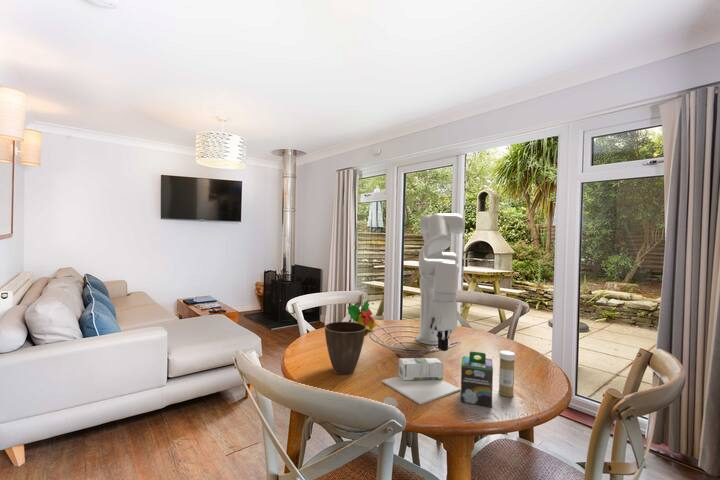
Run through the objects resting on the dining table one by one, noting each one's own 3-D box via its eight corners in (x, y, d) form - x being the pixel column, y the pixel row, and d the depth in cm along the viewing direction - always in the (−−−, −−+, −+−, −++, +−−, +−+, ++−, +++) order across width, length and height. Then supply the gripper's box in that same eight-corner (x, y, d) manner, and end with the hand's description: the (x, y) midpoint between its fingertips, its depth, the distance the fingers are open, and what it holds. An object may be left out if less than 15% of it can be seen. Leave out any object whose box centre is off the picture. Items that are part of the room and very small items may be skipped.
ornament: (360, 338, 165) (362, 307, 165) (346, 335, 170) (347, 304, 169) (380, 328, 183) (381, 300, 183) (366, 326, 187) (367, 298, 187)
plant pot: (315, 367, 127) (316, 324, 127) (348, 360, 137) (349, 319, 136) (338, 382, 116) (339, 334, 115) (372, 372, 125) (374, 328, 124)
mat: (421, 371, 127) (421, 370, 127) (460, 390, 112) (460, 389, 112) (382, 382, 117) (382, 380, 117) (420, 404, 102) (420, 402, 102)
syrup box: (437, 373, 125) (398, 374, 123) (437, 356, 125) (398, 358, 123) (443, 379, 119) (402, 381, 117) (443, 362, 119) (402, 363, 117)
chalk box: (491, 395, 110) (493, 348, 110) (492, 408, 102) (494, 358, 101) (461, 389, 113) (462, 344, 113) (459, 402, 105) (461, 353, 104)
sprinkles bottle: (514, 393, 112) (516, 351, 112) (512, 398, 108) (513, 355, 108) (499, 389, 114) (501, 349, 114) (496, 394, 111) (498, 352, 110)
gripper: (450, 293, 127) (448, 343, 128) (421, 296, 119) (419, 350, 119) (467, 297, 121) (465, 349, 121) (437, 300, 113) (435, 356, 113)
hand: (442, 349), depth 120 cm, fingers closed
